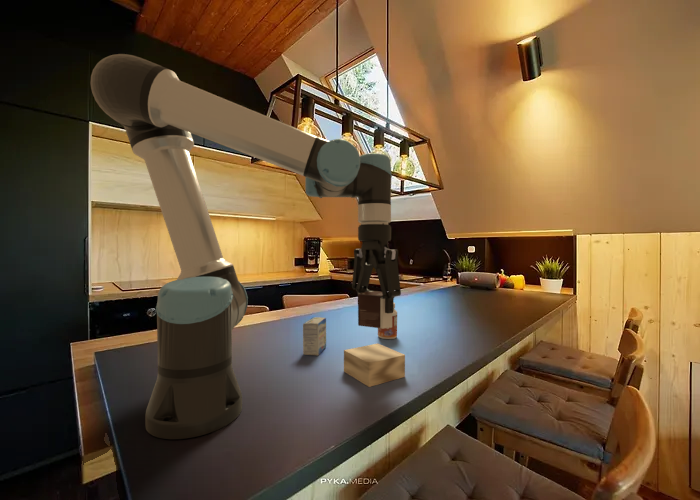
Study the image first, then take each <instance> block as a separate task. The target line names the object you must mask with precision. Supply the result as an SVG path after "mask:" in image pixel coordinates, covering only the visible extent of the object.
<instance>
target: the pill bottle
mask: <svg viewBox="0 0 700 500" xmlns="http://www.w3.org/2000/svg"><path fill="white" fill-rule="evenodd" d="M395 308H396V303H395V302H394V311H393V313H392V327H390V328H384V329H382V328H377V336H378V338H380V339H383V340H394V339H396V338H397V336H398V311H397V310H396V309H395Z"/></svg>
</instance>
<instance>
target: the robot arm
mask: <svg viewBox="0 0 700 500" xmlns="http://www.w3.org/2000/svg"><path fill="white" fill-rule="evenodd" d="M90 89H91V92H92V96H93V97H94V100H95V102H96V103H97V105H98V106H99V108H100V109H101V110H102V111H103V112H104V113H105V114H106V115H107V116H109V117H110V118H111V119H113V120H114V121H115V122H116V123H118V124H120V125H121V126H123V128H124V130H125V132H126V136H127V138H128V141H129V144H130V149H131V150H132V153H133V154H134V155H135V156H137V157H138V158H140V159H142V160H144V163H145V165H146V168H147V171H148V172H147V173H148V174H149V177H150V181H151V183H152V186H153V190H154V192H155V196H156V198H157V202H158V205H159V208H160V210H161V214H162V217H163V220H164V223H165V225H166V228H167V232H168V235H169V238H170V241H171V245H172V247H173V250H174V253H175V256H176V260H177V262H178V265H179V268H180V273H179V275H178V276H177V278H176V280H172V281H169V282H167V283H165V284H163V285H162V286H161V287H160V289H159V290H158V294H157V301H156V302H157V303H156V306H155V311H156V327H157V328H156V331H157V332H156V334H157V335H156V341H157V343H156V345H157V377H156V381H155V384H154V387H153V389H152V392H151V396H150V397H149V401H148V404H147V407H146V410H145V417H144V418H145V423H144V424H145V426H144V427H145V430H146V432H147V434H149V435H151V436H153V437H155V438H159V439H164V440H183V439H191V438H195V437H196V438H197V437H200V436H203V435H204V436H205V435H207V434H210V433H213V432H216V431H218V430H220V429H223V428H225V427H226V426H228V425H229V424H230V423H232V422H234V421H235V420H236V418H238V417H239V416H240V414H241V413H242V410H243V395H242V391H241V389H240V388H241V387H240V385H239V383H238V380H237V377H236V374H235V371H234V368H233V365H232V364H233V360H232V359H233V357H232V356H233V354H232V352H233V351H232V350H233V349H232V348H233V346H232V345H233V341H232V340H233V339H232V338H233V337H232V336H233V333H232V332H233V330H234V328H235V327H236V326H237V325H238V324H240V322H241V321H242V320H243V318H244V316H245V315H246V313H247V308H248V302H249V300H248V299H249V297H248V294H247V291H246V288H245V287H244V285H243V284H242V283H241V282H240V281H239V279H238V276H237V272H236V270H235V267H234V264H233V263H232V262H230V261H228V260H227V259H225V258H224V257H223V253H222V250H221V247H220V244H219V243H220V242H219V241H218V237H217V235H216V231H215V228H214V225H213V223H212V219H211V216H210V213H209V210H208V207H207V204H206V201H205V200H206V199H205V197H204V194H203V192H202V191H203V190H202V188H201V185H200V183H199V179H198V176H197V172H196V170H195V167H194V164H193V161H192V157H191V155H190V152H191V151H192V149H193V148H194V146H195V141H194V139H193V136H192V135H195V136H198V137H201V138H203V139H205V140H209V141H212V142H214V143H216V144H219V145H221V146H224V147H227V148H229V149H232V150H235V151H237V152H240V153H243V154H245V155H248V156H251V157H253V158H256V159H258V160H261V161H264V162H266V163H268V164H271V165H274V166H276V167H279V168H282V169H285V170H287V171H290V172H292V173H296V174H298V175H300V176H303V177H304V179H305V180H304V181H305V185H304V187H305V194H306V195H307V197H313V198H320V199H323V198H351V199H354V198H357V222H358V223H359V225H358V227H357V229H358V230H357V239H358V241H359V242H361V243H362V245H361V247H360V248H355V249H353V257H354V261H353V271H352V282H351V288H352V289H353V290H355V291H356V293H357V295H358V294H360V293H363V292H368V291H370V289H368V287H369V284H370V279H371V276H372V273H373V269H374V270H376V273H377V274H376V275H377V278H378V281H379V286H380V290H381V292H382V294H383V296H381V298H380V328H382V329H384V328H390V327H392V313H393V311H394V309H395V308H394V303H395V301H394V300H395V298H396V297H398V296H401V294H402V292H401V282H400V271H399V263H398V258H399V250H398V249H390V247H389V243H388V242H391V240H392V226H391V224H390V223H391V221H392V177H393V175H392V165H391V164H392V163H391V159H390V157H389V156H388V155H387V154H383V153H379V152H378V153H377V152H376V153H374V152H372V153H364V154H361V155H360V153H359V150H358V149H357V148H356V146H355V145H354V144H353V143H352V142H350V141H348V140H346V139H343V138H335V139H331V140H327V139H324V138H322V137H319V136H316V135H314V134H311V133H308V132H306V131H303V130H301V129H298V128H297V127H294V126H292V125H290V124H287V123H284V122H281V121H279V120H277V119H275V118H272V117H270V116H267V115H265V114H262V113H261V112H258V111H256V110H252V109H249V108H247V107H245V106H244V105H240V104H238V103H235V102H233V101H231V100H228V99H225V98H224V97H221V96H217V95H216V94H213V93H212V92H208V91H206V90H204V89H202V88H198V87H197V86H194V85H191V84H189V83H186V82H185V81H181V80H180V79H179V77H178V76H177V73H176V72H175V71H173V70H171V69H169V68H167V67H164V66H162V65H160V64H157V63H155V62H152V61H149V60H147V59H145V58H142V57H139V56H137V55H133V54H127V53H126V54H125V53H118V54H112V55H111V54H110V55H108V56H106V57H104V58H102V59H101V60H99V61H98V62H97V63H96V65H95V66H94V68H93V69H92V72H91V75H90Z"/></svg>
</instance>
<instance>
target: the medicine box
mask: <svg viewBox="0 0 700 500" xmlns="http://www.w3.org/2000/svg"><path fill="white" fill-rule="evenodd" d="M326 347H327V318H326V317H319V316H315V317H314V316H313V317H311V318H310V319H308V320H307V321H305V322H304V323H303V324H302V349H303V350H302V354H303V355H306V356H320V354H321V353H322V352H324V350H325V349H326Z"/></svg>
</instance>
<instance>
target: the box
mask: <svg viewBox="0 0 700 500" xmlns="http://www.w3.org/2000/svg"><path fill="white" fill-rule="evenodd" d="M381 296H383V294H382V291H378V290H369V291H368V292H363V293H360V294H358V293H357V322H358V323H357V325H358V326H359V327H364V328H365V327H366V328H376V329H378V328H380V298H381Z"/></svg>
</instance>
